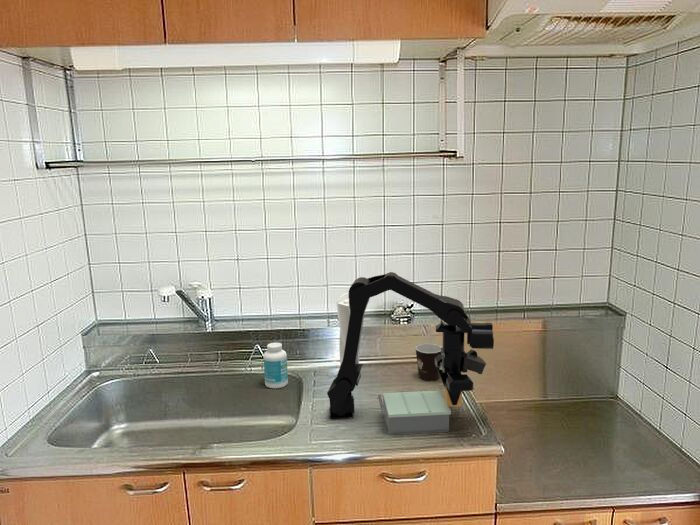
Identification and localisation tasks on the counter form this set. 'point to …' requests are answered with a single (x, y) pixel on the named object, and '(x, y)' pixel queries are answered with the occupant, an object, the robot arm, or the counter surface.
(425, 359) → the coffee mug
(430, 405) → the lid
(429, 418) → the parts tub
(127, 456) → the counter surface
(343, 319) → the skyscraper
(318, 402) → the counter surface
